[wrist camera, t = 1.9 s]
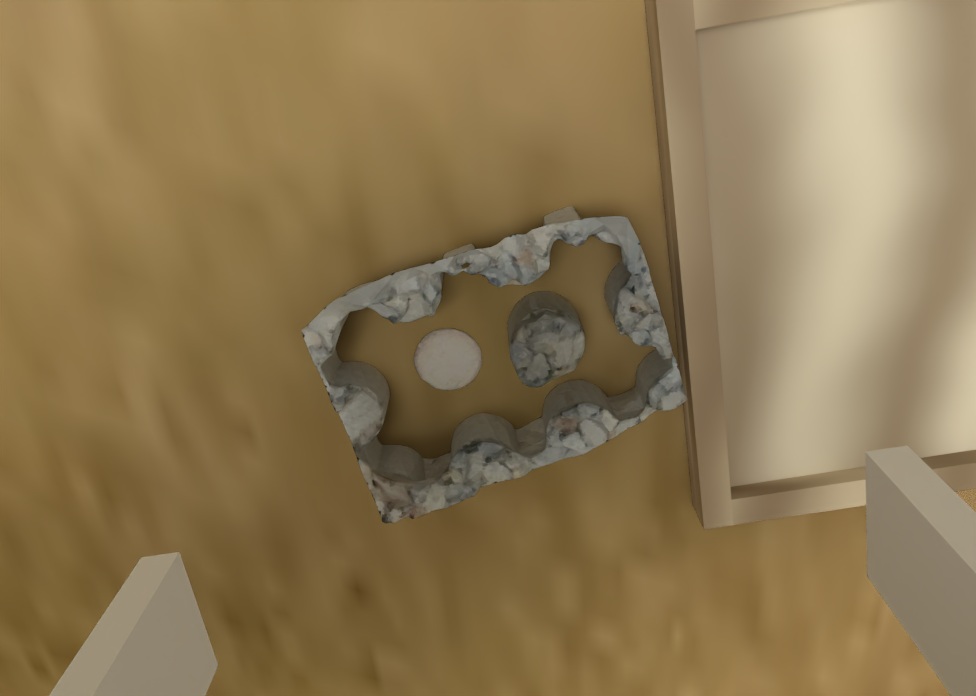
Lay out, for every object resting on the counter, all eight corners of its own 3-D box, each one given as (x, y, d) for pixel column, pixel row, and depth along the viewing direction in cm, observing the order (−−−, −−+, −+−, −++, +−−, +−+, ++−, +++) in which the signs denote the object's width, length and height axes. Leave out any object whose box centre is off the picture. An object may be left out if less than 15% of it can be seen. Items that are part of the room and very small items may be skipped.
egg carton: (383, 474, 30) (369, 538, 26) (304, 280, 28) (275, 320, 24) (675, 389, 29) (705, 444, 25) (620, 180, 27) (644, 205, 23)
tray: (692, 504, 30) (703, 529, 29) (644, -1, 24) (655, -3, 23) (1148, 435, 30) (1184, 457, 28) (1211, -102, 24) (1260, -112, 22)
